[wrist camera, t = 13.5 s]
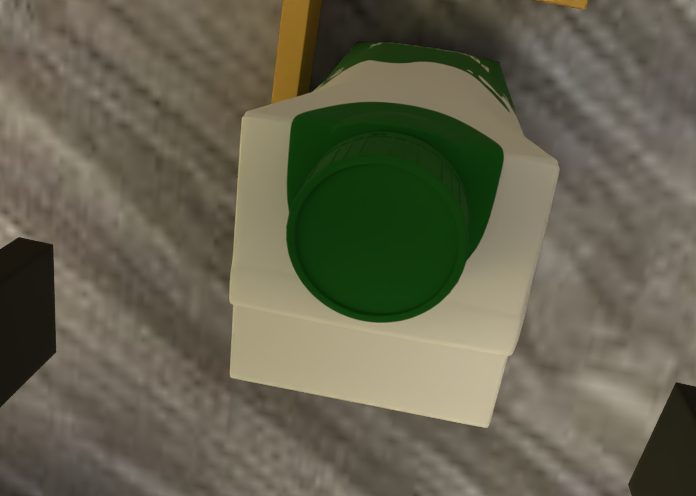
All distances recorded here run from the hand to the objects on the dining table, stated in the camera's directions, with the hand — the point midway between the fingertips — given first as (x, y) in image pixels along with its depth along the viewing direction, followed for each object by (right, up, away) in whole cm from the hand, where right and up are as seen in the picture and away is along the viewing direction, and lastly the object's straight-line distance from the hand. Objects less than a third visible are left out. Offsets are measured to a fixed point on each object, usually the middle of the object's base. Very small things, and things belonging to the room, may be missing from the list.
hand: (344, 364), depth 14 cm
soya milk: (+3, +9, +19) cm, 22 cm away
